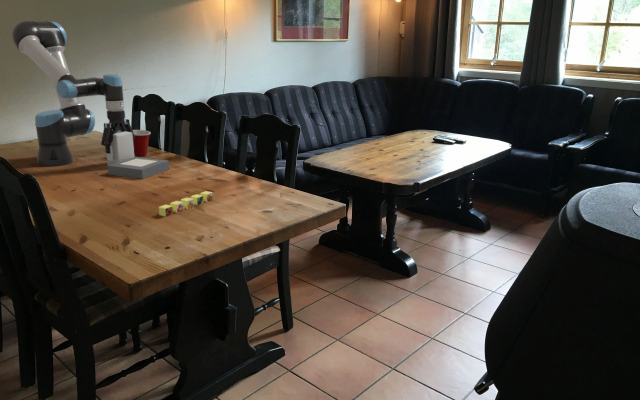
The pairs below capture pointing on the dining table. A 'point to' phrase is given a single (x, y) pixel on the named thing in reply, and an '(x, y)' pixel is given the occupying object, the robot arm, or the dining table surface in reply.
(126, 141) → the supplement box
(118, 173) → the plinth
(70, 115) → the robot arm
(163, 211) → the row of toy blocks
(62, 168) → the dining table surface
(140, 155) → the plastic cup
